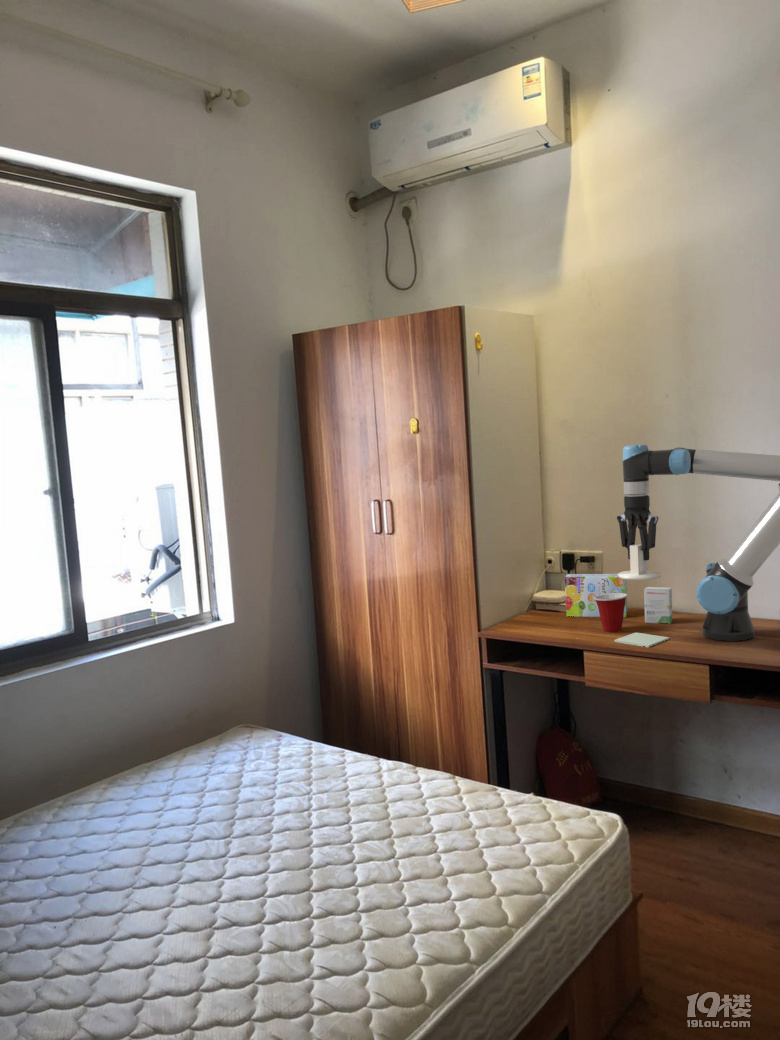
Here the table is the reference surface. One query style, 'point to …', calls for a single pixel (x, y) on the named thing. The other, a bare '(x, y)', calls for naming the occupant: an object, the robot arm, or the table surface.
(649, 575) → the lid
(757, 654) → the table surface
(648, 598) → the ink box
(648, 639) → the mat
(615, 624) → the plastic cup
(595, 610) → the snack box
